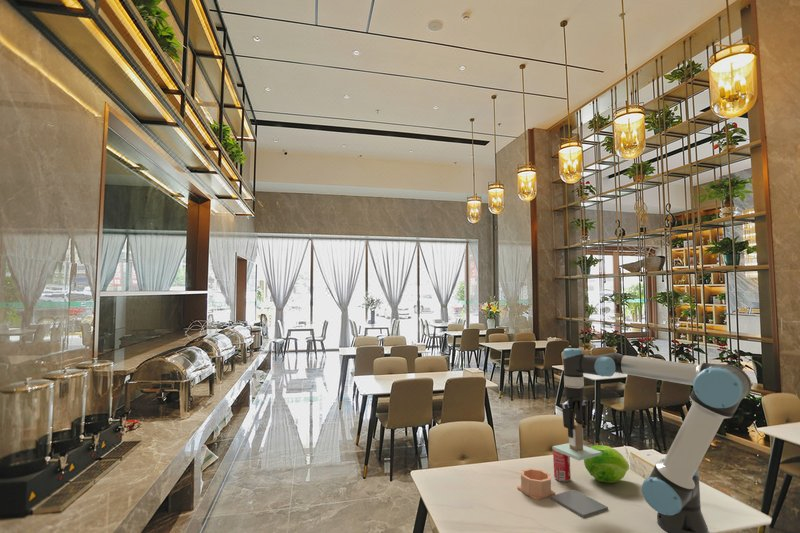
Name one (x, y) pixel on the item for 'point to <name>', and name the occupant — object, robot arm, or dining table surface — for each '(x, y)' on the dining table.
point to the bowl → (536, 483)
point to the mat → (579, 503)
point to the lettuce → (607, 464)
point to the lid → (577, 447)
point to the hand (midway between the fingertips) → (576, 444)
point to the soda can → (561, 466)
